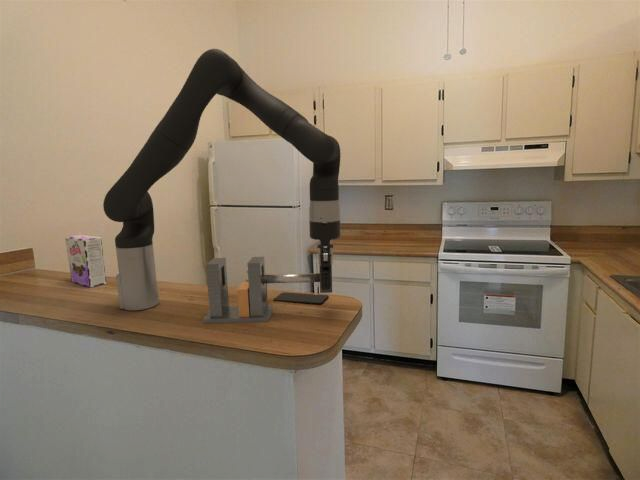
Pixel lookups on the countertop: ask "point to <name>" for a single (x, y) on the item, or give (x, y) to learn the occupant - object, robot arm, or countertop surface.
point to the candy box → (86, 260)
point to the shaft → (297, 279)
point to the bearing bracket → (220, 299)
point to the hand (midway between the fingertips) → (326, 286)
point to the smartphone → (301, 298)
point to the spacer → (244, 300)
